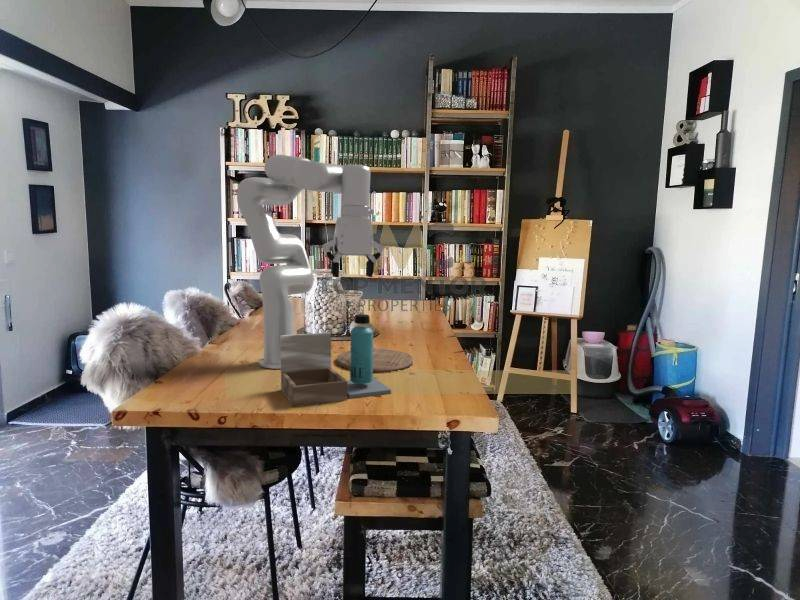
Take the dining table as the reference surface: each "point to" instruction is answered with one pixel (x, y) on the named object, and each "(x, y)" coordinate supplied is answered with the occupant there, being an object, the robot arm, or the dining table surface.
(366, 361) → the beverage bottle
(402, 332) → the dining table surface
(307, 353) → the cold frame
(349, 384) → the slate mat
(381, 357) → the trivet
